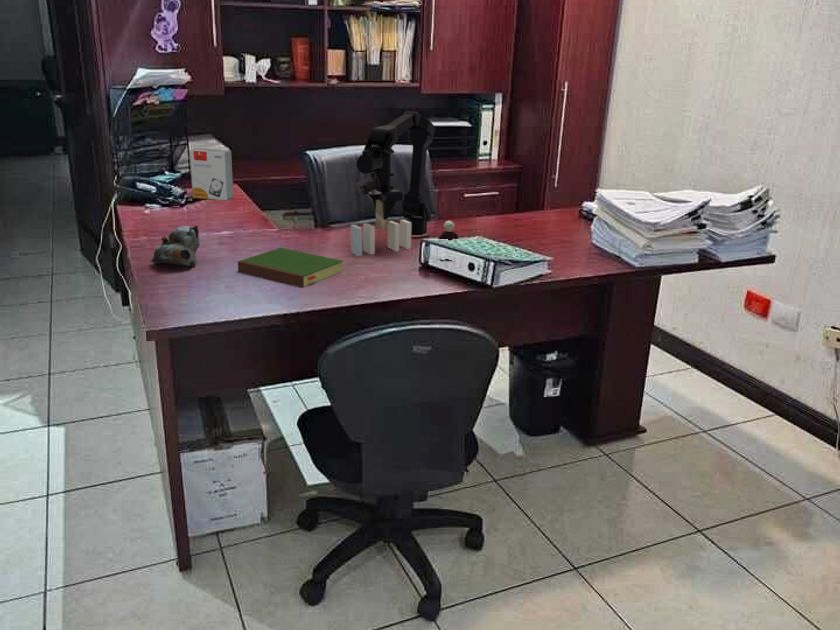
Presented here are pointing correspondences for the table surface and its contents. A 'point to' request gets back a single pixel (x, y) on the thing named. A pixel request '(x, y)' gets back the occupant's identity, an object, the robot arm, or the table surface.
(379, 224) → the domino
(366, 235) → the domino
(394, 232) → the domino
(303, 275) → the hardcover book
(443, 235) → the grandmother figurine
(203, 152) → the hard drive box
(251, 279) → the table surface
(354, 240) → the domino
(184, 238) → the grey lumpy figure
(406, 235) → the domino
